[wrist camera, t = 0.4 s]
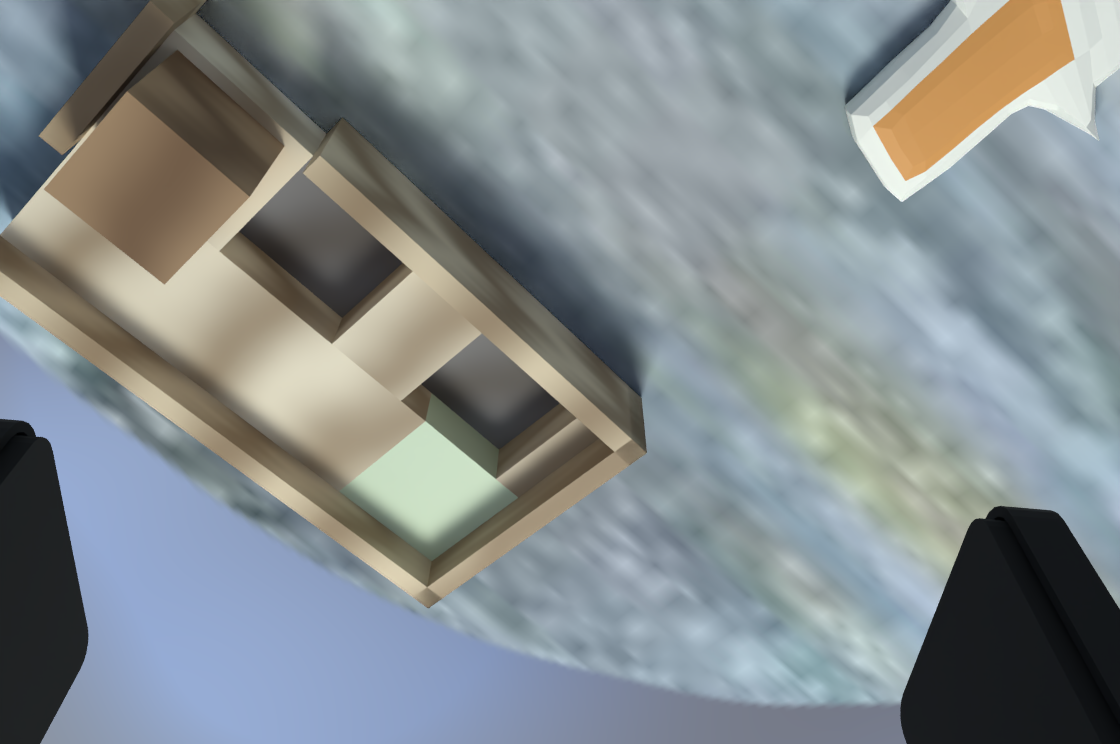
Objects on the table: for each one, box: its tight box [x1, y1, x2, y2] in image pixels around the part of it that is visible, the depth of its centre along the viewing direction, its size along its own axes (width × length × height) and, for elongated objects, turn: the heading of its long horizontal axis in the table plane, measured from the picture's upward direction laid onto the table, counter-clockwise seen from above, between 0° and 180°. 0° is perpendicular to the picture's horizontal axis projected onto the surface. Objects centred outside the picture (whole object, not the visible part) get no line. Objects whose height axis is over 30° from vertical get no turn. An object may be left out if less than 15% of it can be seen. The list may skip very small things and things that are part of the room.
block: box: [44, 50, 284, 285], centre depth 37 cm, size 5×5×5 cm
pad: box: [339, 393, 518, 561], centre depth 50 cm, size 6×6×2 cm
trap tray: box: [0, 0, 647, 608], centre depth 44 cm, size 26×14×4 cm, turn 43°
